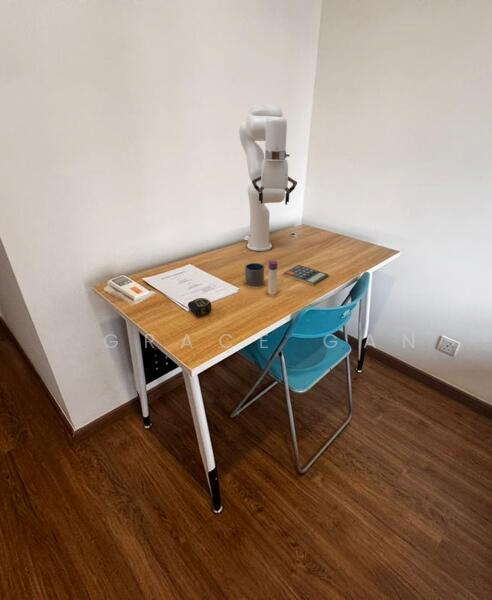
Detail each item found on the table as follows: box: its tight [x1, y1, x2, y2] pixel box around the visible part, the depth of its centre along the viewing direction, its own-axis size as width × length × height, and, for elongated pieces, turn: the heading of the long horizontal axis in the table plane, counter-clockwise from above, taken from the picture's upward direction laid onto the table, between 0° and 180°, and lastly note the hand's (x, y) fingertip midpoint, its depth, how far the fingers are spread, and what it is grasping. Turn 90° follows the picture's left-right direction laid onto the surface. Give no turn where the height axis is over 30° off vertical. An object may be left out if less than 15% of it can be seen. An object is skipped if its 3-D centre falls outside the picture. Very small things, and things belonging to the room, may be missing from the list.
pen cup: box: [244, 262, 265, 288], centre depth 125 cm, size 7×7×8 cm
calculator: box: [283, 264, 329, 286], centre depth 135 cm, size 12×1×15 cm
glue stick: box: [267, 260, 278, 296], centre depth 117 cm, size 3×3×13 cm
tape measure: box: [187, 297, 212, 317], centre depth 107 cm, size 7×7×4 cm
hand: (273, 203), depth 126 cm, fingers open, 9 cm apart
